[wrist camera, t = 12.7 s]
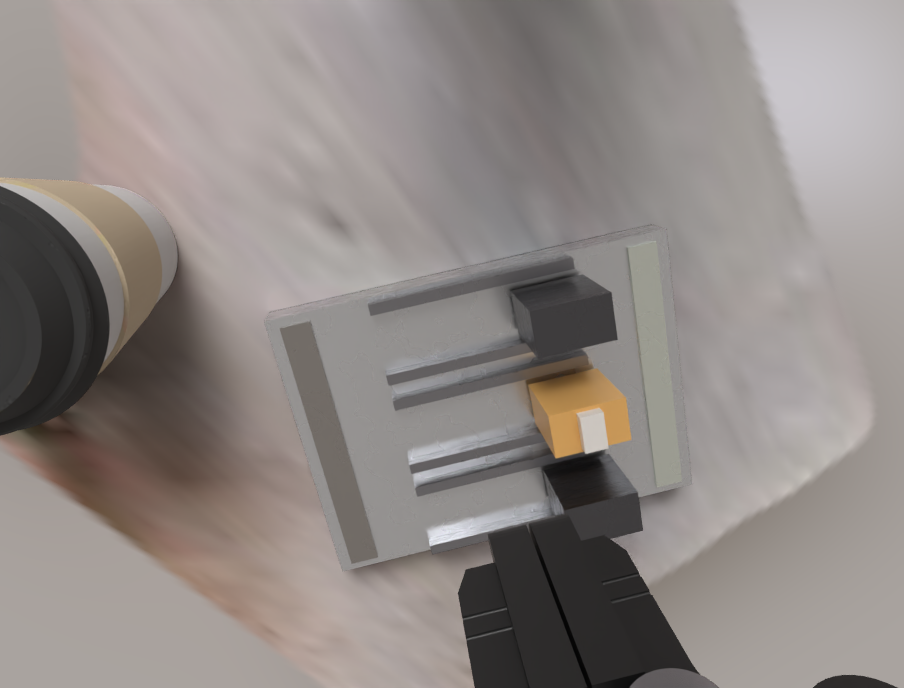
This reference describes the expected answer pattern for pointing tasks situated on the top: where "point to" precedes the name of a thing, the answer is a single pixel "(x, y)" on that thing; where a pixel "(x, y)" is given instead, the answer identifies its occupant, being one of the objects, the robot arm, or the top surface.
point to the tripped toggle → (580, 413)
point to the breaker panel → (485, 396)
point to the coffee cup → (72, 288)
